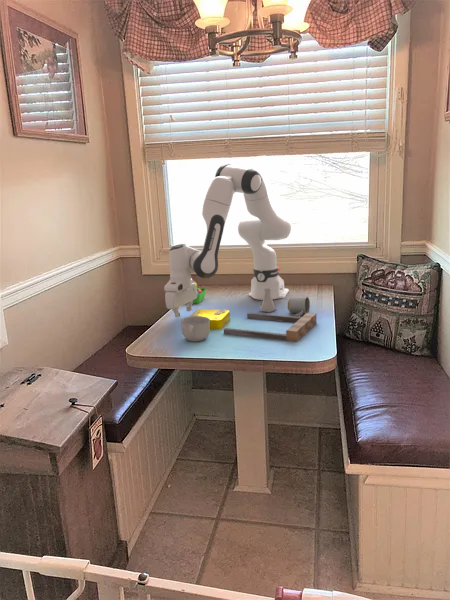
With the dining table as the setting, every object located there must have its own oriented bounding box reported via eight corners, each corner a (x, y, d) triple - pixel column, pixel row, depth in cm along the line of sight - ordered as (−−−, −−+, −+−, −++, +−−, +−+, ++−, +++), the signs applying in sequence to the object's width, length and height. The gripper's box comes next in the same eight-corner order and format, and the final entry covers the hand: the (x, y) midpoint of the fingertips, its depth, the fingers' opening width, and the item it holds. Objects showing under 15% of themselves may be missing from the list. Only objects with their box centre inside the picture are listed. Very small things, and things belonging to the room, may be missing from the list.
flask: (275, 312, 225) (274, 290, 223) (259, 312, 227) (258, 290, 224) (277, 308, 232) (276, 286, 230) (261, 308, 234) (260, 286, 231)
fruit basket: (200, 304, 246) (198, 281, 243) (183, 303, 248) (181, 281, 245) (207, 298, 257) (206, 276, 254) (190, 297, 259) (189, 276, 256)
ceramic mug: (292, 310, 227) (291, 293, 225) (310, 311, 224) (310, 294, 222) (284, 317, 218) (284, 300, 216) (303, 319, 214) (302, 301, 212)
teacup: (190, 333, 203) (188, 314, 201) (215, 335, 199) (214, 315, 197) (174, 345, 191) (172, 324, 189) (200, 347, 187) (199, 326, 185)
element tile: (198, 318, 224) (197, 308, 223) (231, 319, 220) (230, 308, 219) (186, 329, 210) (185, 318, 209) (221, 330, 206) (220, 319, 205)
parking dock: (248, 316, 221) (248, 308, 220) (316, 323, 207) (316, 313, 206) (223, 333, 201) (223, 324, 200) (296, 342, 187) (296, 331, 186)
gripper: (187, 277, 229) (189, 307, 232) (161, 287, 211) (164, 319, 215) (199, 277, 226) (201, 308, 229) (174, 288, 208) (177, 321, 212)
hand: (183, 313), depth 222 cm, fingers open, 8 cm apart
